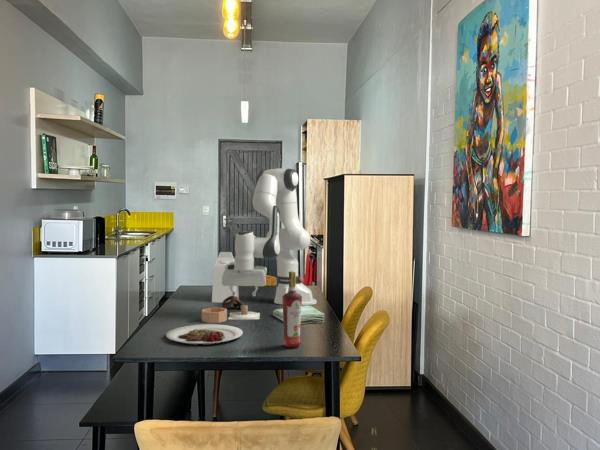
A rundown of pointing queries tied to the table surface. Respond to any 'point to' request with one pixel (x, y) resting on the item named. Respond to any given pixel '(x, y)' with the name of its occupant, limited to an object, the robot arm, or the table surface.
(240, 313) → the lid
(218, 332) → the plated food
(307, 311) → the towel
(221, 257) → the milk
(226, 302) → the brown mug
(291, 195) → the robot arm
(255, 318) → the mat
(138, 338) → the table surface
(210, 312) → the bowl
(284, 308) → the liquor
